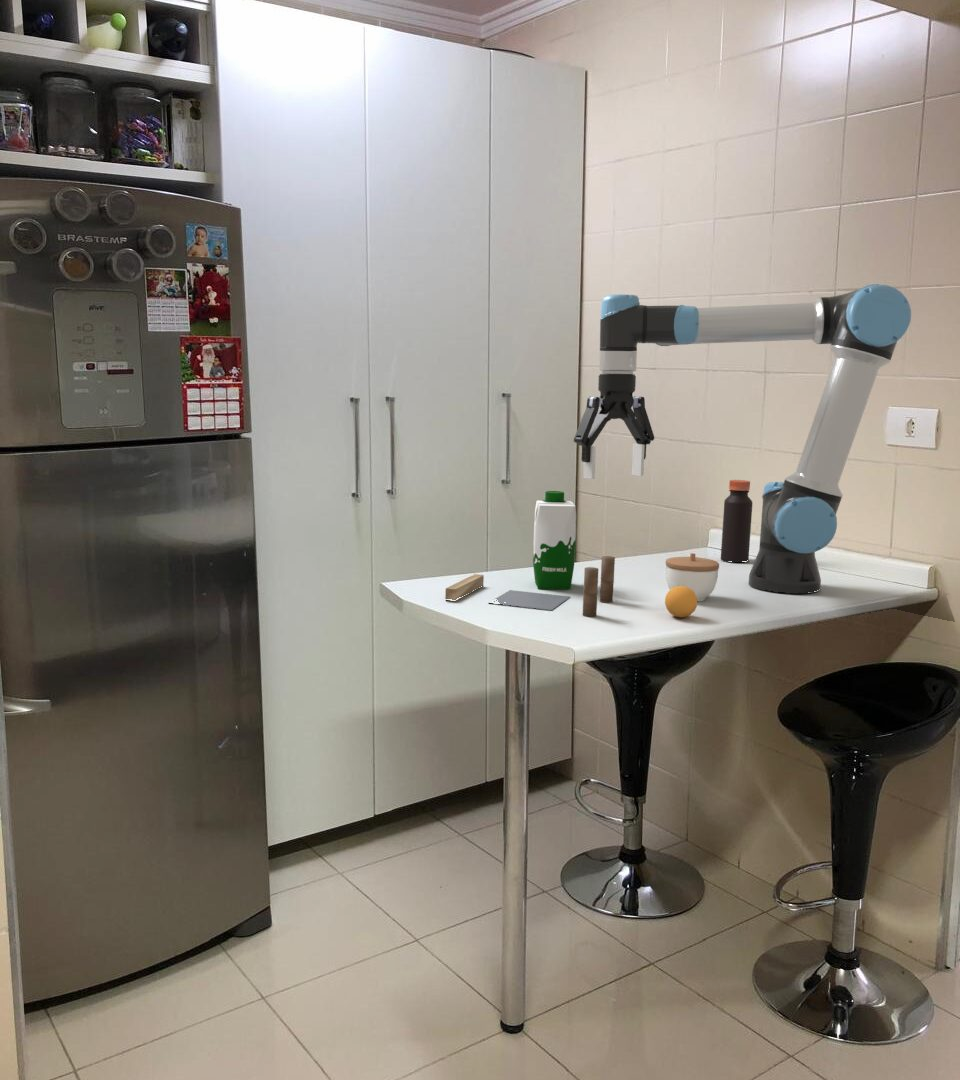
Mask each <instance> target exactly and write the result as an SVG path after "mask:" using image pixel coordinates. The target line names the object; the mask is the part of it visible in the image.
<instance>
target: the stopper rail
mask: <svg viewBox="0 0 960 1080" xmlns="http://www.w3.org/2000/svg"><path fill="white" fill-rule="evenodd" d="M484 577H485V576H484V574H477V573H475V574H472V575H470V576H467V577H466V578H464V579H462V580H460V581H458V582H456V583H454V584H452V585H449V586H448V587H446V588H445V596H444V597H445V599H452V600H456V599H457V598H459V597H462V596H464V595H466V594H468V593H470V592H472V591H473V590H475V589H477V588H479V587H481V586H483V587H484V582H485V581H484V580H485V579H484ZM472 593H473V592H472ZM470 594H471V593H470ZM468 595H469V594H468ZM445 599H444V600H445Z"/></svg>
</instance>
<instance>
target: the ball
mask: <svg viewBox="0 0 960 1080" xmlns="http://www.w3.org/2000/svg"><path fill="white" fill-rule="evenodd" d="M664 604H665V607H666V609H667V612H669V613H670V615H672V616H674V617H676V618H686V617H689V616H690V615H692V614H693V613H694V612H695V610H696V609H697V605H698V602H697V597H696V595H695V593H694V592H693V591H692V590H691V589H690V588H688V587H686V586H676V587H674V588H672V589H671V590H670V589H669V590H668V592H667V593H666V594H665V599H664Z"/></svg>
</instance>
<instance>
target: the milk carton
mask: <svg viewBox="0 0 960 1080" xmlns="http://www.w3.org/2000/svg"><path fill="white" fill-rule="evenodd" d="M533 522H534V523H533V524H534V525H533V545H532V546H533V549H532V551H533V552H532V567H533V574H534V583H535V585H536V588H537V590H568V589H570V590H571V589H572V584H573V583H572V582H573V575H574V568H575V559H576V558H575V557H576V536H577V535H576V534H577V510H576V505H575V503H574V502H573V501H571V500H565V492H564V491H559V490H547V491H545V497H544V499H542V500H536V503H535V508H534V521H533Z"/></svg>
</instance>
